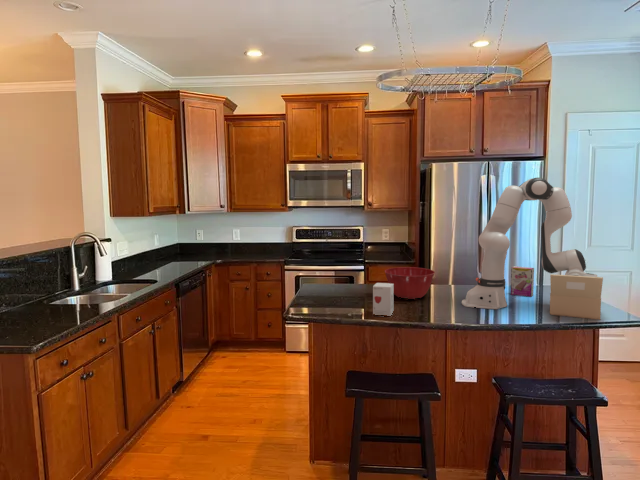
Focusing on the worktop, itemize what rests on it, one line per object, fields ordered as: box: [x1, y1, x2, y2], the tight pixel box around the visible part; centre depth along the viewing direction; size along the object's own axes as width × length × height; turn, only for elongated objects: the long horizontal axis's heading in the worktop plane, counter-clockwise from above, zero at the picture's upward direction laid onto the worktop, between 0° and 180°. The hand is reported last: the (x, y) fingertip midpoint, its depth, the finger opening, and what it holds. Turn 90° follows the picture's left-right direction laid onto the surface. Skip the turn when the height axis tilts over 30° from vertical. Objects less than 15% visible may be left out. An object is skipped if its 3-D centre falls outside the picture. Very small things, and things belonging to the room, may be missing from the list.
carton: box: [549, 292, 602, 321], centre depth 197 cm, size 16×20×10 cm
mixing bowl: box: [384, 266, 435, 300], centre depth 238 cm, size 28×28×15 cm
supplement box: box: [372, 282, 395, 317], centre depth 203 cm, size 9×9×15 cm
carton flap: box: [549, 273, 604, 300], centre depth 185 cm, size 15×20×1 cm
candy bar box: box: [510, 265, 535, 298], centre depth 235 cm, size 11×5×16 cm, turn 50°
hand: (575, 285), depth 185 cm, fingers closed
